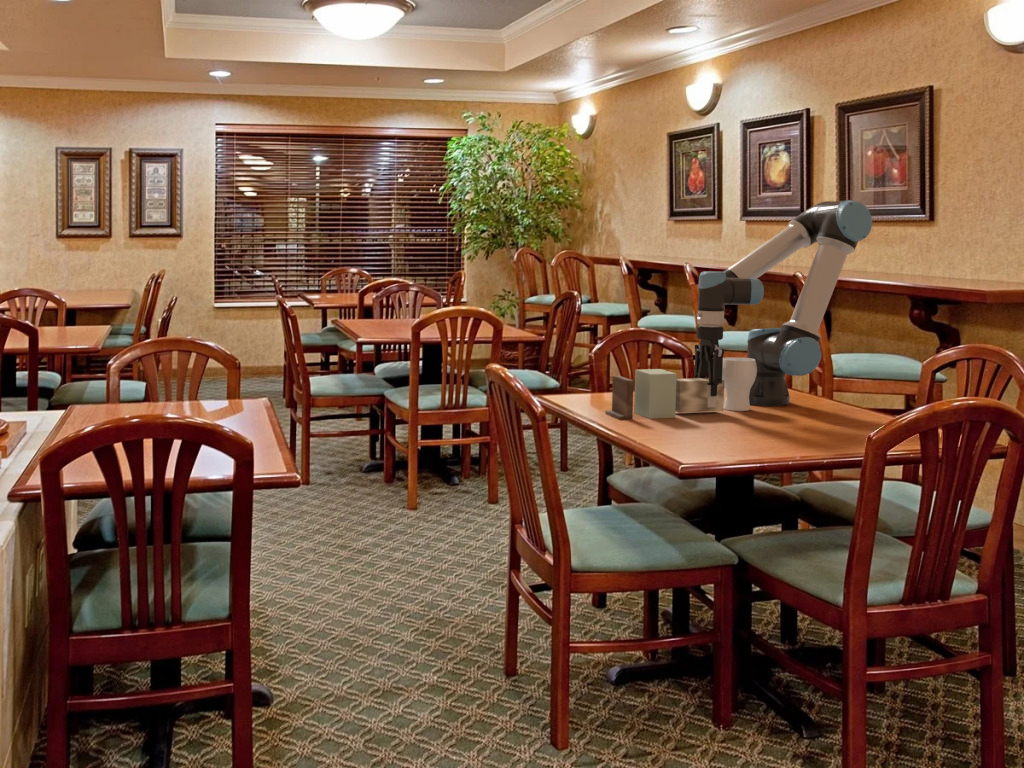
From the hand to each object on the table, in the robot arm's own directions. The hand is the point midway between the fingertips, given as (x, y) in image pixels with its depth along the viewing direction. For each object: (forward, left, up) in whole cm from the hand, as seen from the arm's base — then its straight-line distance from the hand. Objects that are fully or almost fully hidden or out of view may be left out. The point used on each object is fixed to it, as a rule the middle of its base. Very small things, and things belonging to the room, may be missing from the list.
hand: (706, 405), depth 308 cm
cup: (-12, -5, -3) cm, 13 cm away
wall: (+27, 0, -2) cm, 27 cm away
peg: (+3, 0, -1) cm, 3 cm away
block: (+17, 0, -2) cm, 17 cm away
